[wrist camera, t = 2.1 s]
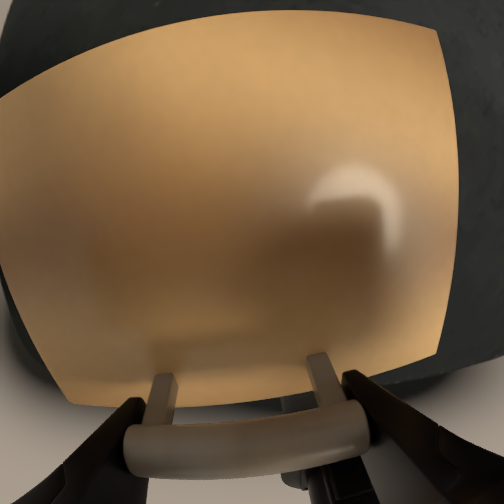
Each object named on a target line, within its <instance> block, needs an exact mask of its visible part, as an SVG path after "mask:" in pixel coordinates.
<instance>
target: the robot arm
mask: <svg viewBox="0 0 504 504" xmlns="http://www.w3.org/2000/svg"><path fill="white" fill-rule="evenodd" d="M341 386H342V389H343V391H344V393H345V396H346V398H347V401H348V400H352V399H355V400H358V401H359V402H360V404H361V405H362V407H363V409H364V411H365V413H366V416H367V419H368V423H369V428H370V447H369V450H368V451H367V452H366V453H365V454H362V455H359V456H356V457H352V458H349V459H345V460H341V461H338V462H334V463H330V464H326V465H321V466H317V467H312V468H307V469H302V470H300V480H301V489H302V490H303V491H304V490H308V491H309V495H310V500H311V504H504V457H502V456H500V455H498V454H495V453H493V452H491V451H488V450H486V449H483V448H481V447H479V446H476V445H474V444H472V443H470V442H468V441H466V440H464V439H462V438H460V437H458V436H457V435H455V434H453V433H452V432H450V431H448V430H447V429H445V428H444V427H442V426H438V424H437V423H436V422H434V421H432V420H431V419H429V418H428V417H426V416H425V415H423V414H422V413H420V412H419V411H417V410H415V409H414V408H412V407H411V406H409V405H408V404H406V403H405V402H403V401H402V400H400V399H399V398H397V397H396V396H394V395H393V394H391V393H390V392H388V391H387V390H385V389H384V388H383V387H381V386H380V385H378V384H377V383H375V382H374V381H372V380H371V379H370V378H368V377H367V376H365V375H364V374H362V373H361V372H359V371H358V370H356V369H353V370H349V371H345V372H343V373H342V379H341ZM145 408H146V403H145V401H144V400H143V398H141V397H129V398H128V399H127V400H126V401H125V402H124V403H123V404H122V405H121V406H120V407H119V408H118V409H117V410H116V411H115V412H114V413H113V414H112V415H111V416H110V417H109V418H108V419H107V420H106V421H105V422H104V423H103V424H102V425H101V426H100V427H99V428H98V429H97V430H96V431H95V432H94V433H93V434H92V435H91V436H90V437H89V438H87V440H85V441H84V442H83V443H82V444H81V445H80V446H79V447H78V448H77V449H76V450H75V451H74V452H73V453H72V454H71V455H70V456H69V457H68V458H67V459H66V460H65V461H64V462H63V464H61V465H60V466H59V467H58V468H56V469H55V470H54V471H53V472H52V473H51V474H50V475H49V476H48V477H47V478H45V479H44V480H43V481H42V482H40V483H39V484H38V485H37V486H35V487H34V488H33V489H31V490H30V491H29V492H27V493H26V494H25V495H24V496H22V497H21V498H19V499H18V500H16V501H15V502H13V503H12V504H146V498H147V489H148V482H149V478H146V477H138V476H135V475H134V474H132V473H131V472H130V471H129V469H128V467H127V465H126V463H125V460H124V456H123V438H124V434H125V432H126V430H127V428H128V427H129V426H131V425H133V424H141V423H142V419H143V416H144V412H145Z"/></svg>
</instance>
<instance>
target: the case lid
mask: <svg viewBox="0 0 504 504" xmlns="http://www.w3.org/2000/svg"><path fill="white" fill-rule="evenodd" d="M458 194H459V182H458V153H457V139H456V129H455V120H454V112H453V105H452V98H451V92H450V87H449V81H448V76H447V72H446V67H445V63H444V58H443V54H442V50H441V46H440V43H439V39H438V36H437V32H436V31H435V30H432V29H429V28H425V27H422V26H418V25H414V24H409V23H405V22H401V21H396V20H391V19H385V18H380V17H374V16H367V15H360V14H352V13H342V12H330V11H311V10H274V11H255V12H243V13H233V14H225V15H218V16H211V17H205V18H199V19H193V20H188V21H183V22H179V23H174V24H170V25H166V26H162V27H158V28H154V29H150V30H147V31H143V32H140V33H136V34H133V35H130V36H127V37H124V38H121V39H118V40H115V41H112V42H110V43H107V44H104V45H102V46H99V47H97V48H94V49H92V50H89V51H87V52H84V53H82V54H80V55H77V56H75V57H73V58H71V59H69V60H67V61H64V62H62V63H60V64H58V65H56V66H54V67H52V68H50V69H49V70H47V71H45V72H43V73H41V74H39V75H37V76H36V77H34V78H32V79H30V80H29V81H27V82H25V83H24V84H22V85H20V86H19V87H17V88H15V89H14V90H12V91H11V92H9V93H8V94H6V95H5V96H3V97H2V98H0V265H1V268H2V271H3V273H4V276H5V279H6V282H7V284H8V287H9V290H10V292H11V295H12V297H13V300H14V302H15V304H16V307H17V309H18V311H19V314H20V316H21V318H22V320H23V322H24V325H25V327H26V329H27V331H28V333H29V335H30V337H31V339H32V341H33V343H34V345H35V347H36V348H37V350H38V352H39V354H40V356H41V358H42V359H43V361H44V363H45V365H46V366H47V368H48V370H49V371H50V373H51V375H52V376H53V378H54V380H55V381H56V383H57V384H58V386H59V387H60V389H61V390H62V392H63V394H64V395H65V397H66V398H67V399H68V401H69V402H70V403H72V404H81V405H93V406H108V407H120V406H121V405H122V404H123V403H124V402H125V401H126V400H127V399H128V398H129V397H141V398H143V400H144V401H145V403H146V408H145V412H144V416H143V419H142V423H141V424H133V425H131V426H129V427H128V428H127V430H126V432H125V434H124V438H123V456H124V460H125V463H126V465H127V467H128V469H129V471H130V472H131V473H132V474H134V475H135V476H138V477H146V478H159V479H179V480H213V479H233V478H246V477H255V476H264V475H272V474H279V473H285V472H291V471H297V470H302V469H307V468H312V467H317V466H321V465H326V464H330V463H334V462H338V461H341V460H345V459H349V458H352V457H356V456H359V455H362V454H365V453H366V452H367V451H368V450H369V447H370V428H369V423H368V419H367V416H366V413H365V411H364V409H363V407H362V405H361V404H360V402H359V401H358V400H355V399H352V400H348V401H347V398H346V396H345V393H344V391H343V389H342V386H341V379H342V373H343V372H345V371H349V370H353V369H356V370H358V371H359V372H361V373H362V374H364V375H365V376H367V377H369V376H372V375H376V374H379V373H382V372H386V371H389V370H392V369H395V368H398V367H401V366H404V365H407V364H410V363H412V362H415V361H418V360H421V359H423V358H426V357H429V356H431V355H434V354H435V353H436V351H437V347H438V343H439V339H440V335H441V331H442V327H443V323H444V318H445V313H446V308H447V303H448V298H449V292H450V287H451V280H452V273H453V266H454V258H455V249H456V238H457V223H458ZM308 391H314V394H315V397H316V400H317V403H318V406H319V408H315V409H310V410H305V411H300V412H295V413H289V414H283V415H278V416H272V417H265V418H257V419H250V420H241V421H231V422H221V423H220V422H219V423H206V424H184V425H183V424H182V425H172V422H173V415H174V410H175V407H191V406H192V407H193V406H207V405H220V404H229V403H239V402H247V401H255V400H262V399H269V398H275V397H281V396H287V395H292V394H298V393H303V392H308Z"/></svg>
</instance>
